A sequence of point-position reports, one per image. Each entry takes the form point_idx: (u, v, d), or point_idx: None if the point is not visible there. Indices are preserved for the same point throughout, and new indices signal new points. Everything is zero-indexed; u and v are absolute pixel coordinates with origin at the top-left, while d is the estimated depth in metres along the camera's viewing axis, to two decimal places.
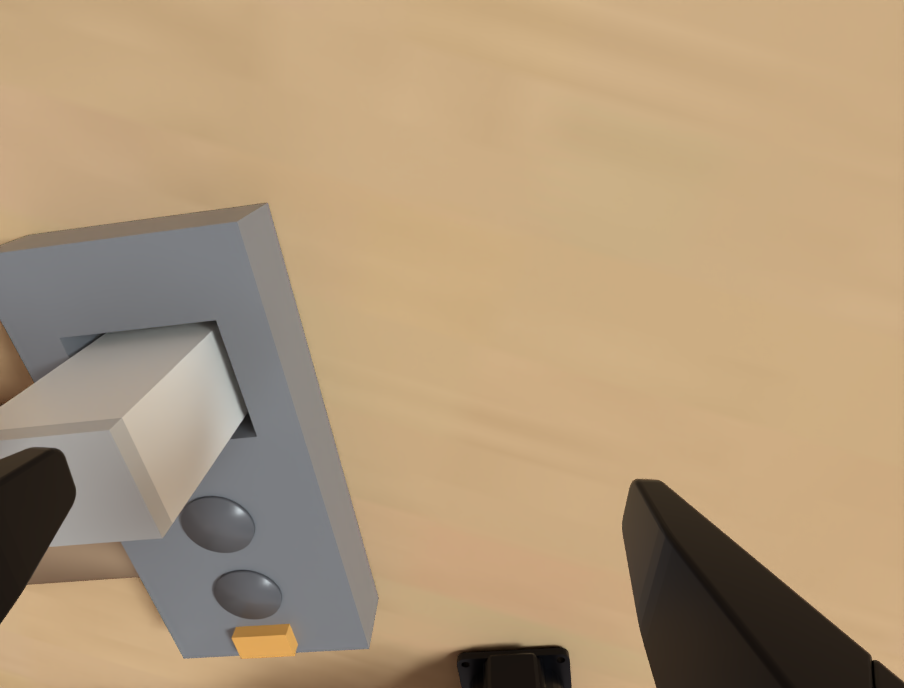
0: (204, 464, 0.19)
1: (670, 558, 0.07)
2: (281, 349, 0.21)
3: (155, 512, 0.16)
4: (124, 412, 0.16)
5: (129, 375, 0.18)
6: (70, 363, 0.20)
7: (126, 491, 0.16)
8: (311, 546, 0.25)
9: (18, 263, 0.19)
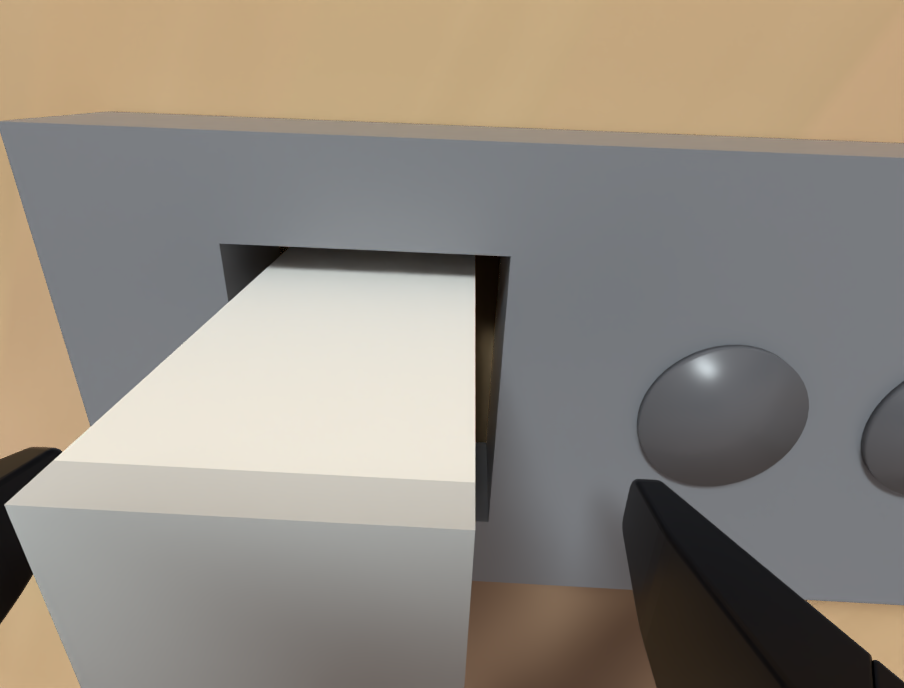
0: (449, 358, 0.07)
1: (670, 558, 0.07)
2: (308, 131, 0.09)
3: (376, 509, 0.05)
4: (79, 451, 0.06)
5: None
6: None
7: (253, 552, 0.05)
8: (879, 230, 0.09)
9: None
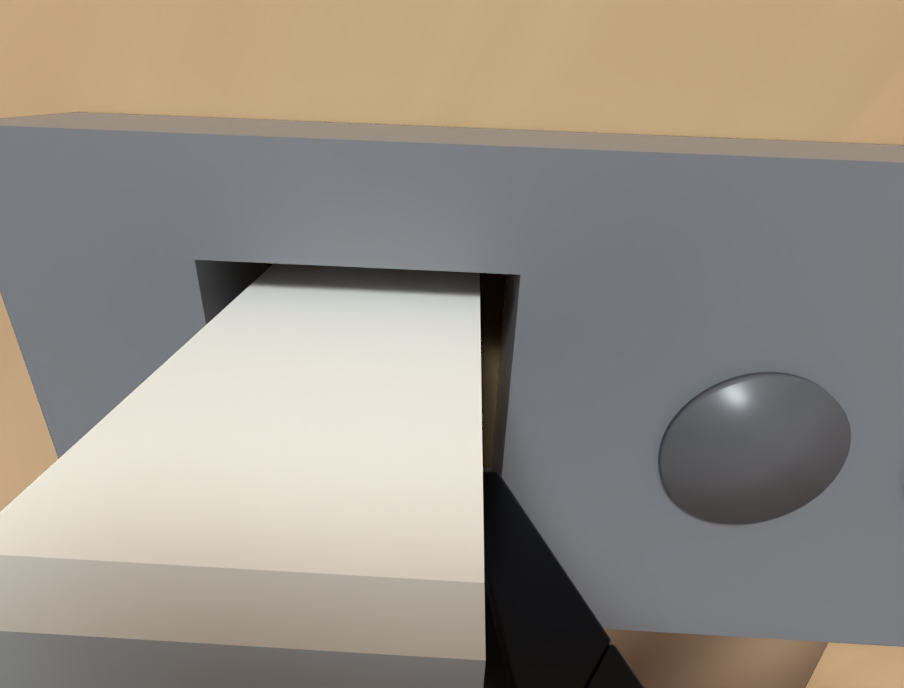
0: (451, 402, 0.06)
1: None
2: (293, 134, 0.08)
3: (358, 625, 0.04)
4: None
5: None
6: None
7: (200, 681, 0.04)
8: None
9: None
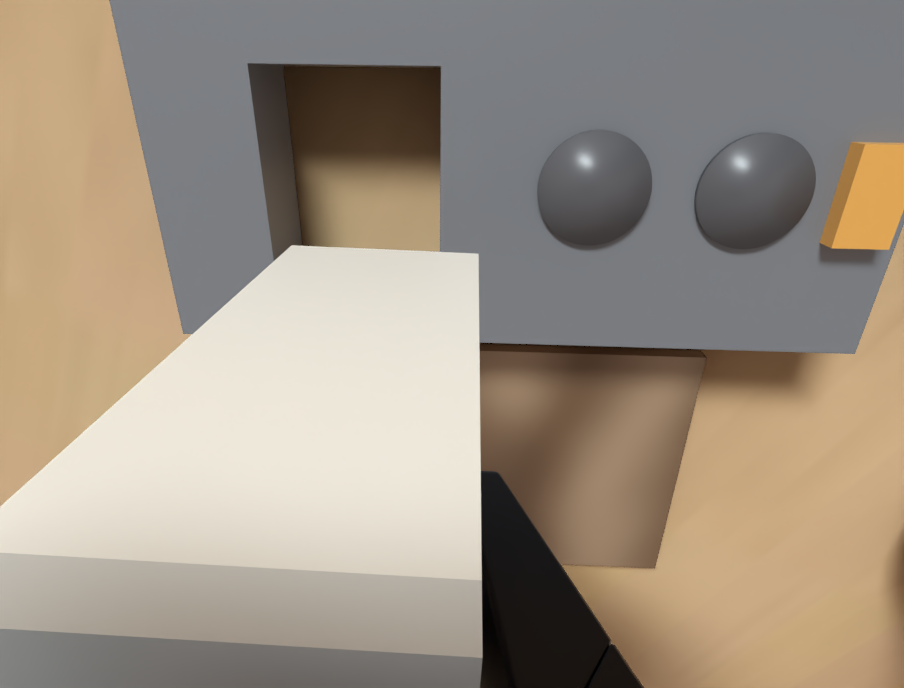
0: (450, 399, 0.06)
1: None
2: None
3: (355, 623, 0.04)
4: None
5: None
6: None
7: (197, 679, 0.04)
8: (681, 37, 0.14)
9: (186, 284, 0.17)
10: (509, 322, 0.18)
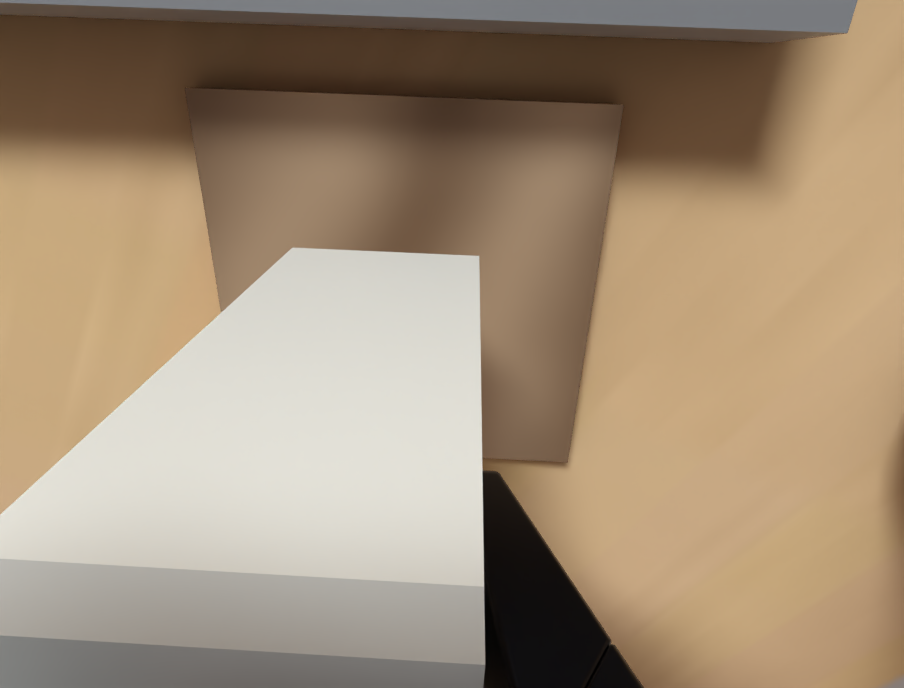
0: (452, 404, 0.06)
1: None
2: None
3: (358, 630, 0.04)
4: None
5: None
6: None
7: (200, 686, 0.04)
8: None
9: None
10: None
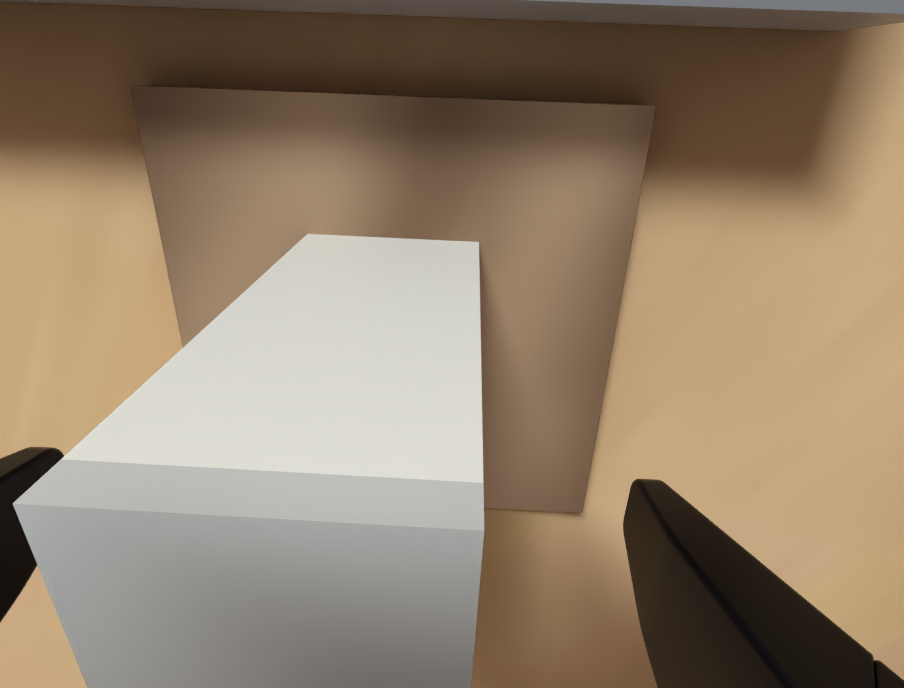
0: (455, 358, 0.07)
1: (671, 558, 0.07)
2: None
3: (385, 508, 0.05)
4: (86, 449, 0.06)
5: None
6: None
7: (262, 551, 0.05)
8: None
9: None
10: None
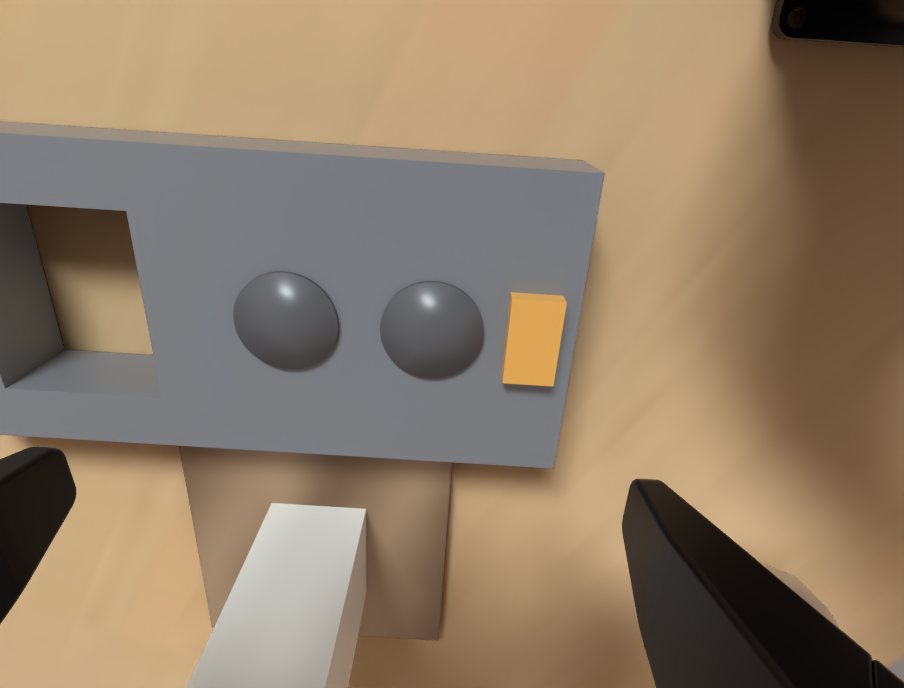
0: (326, 634, 0.18)
1: (670, 558, 0.07)
2: None
3: None
4: None
5: None
6: None
7: None
8: (340, 198, 0.15)
9: None
10: (232, 431, 0.19)
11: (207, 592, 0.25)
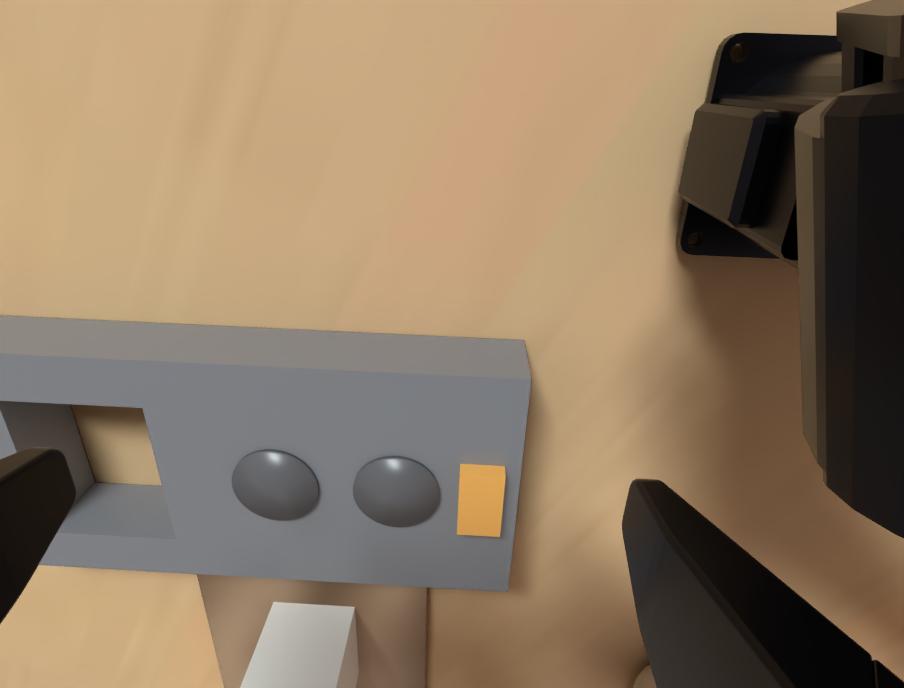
0: None
1: (670, 558, 0.07)
2: (34, 348, 0.19)
3: None
4: None
5: None
6: None
7: None
8: (315, 398, 0.19)
9: None
10: (235, 563, 0.22)
11: (221, 670, 0.29)
